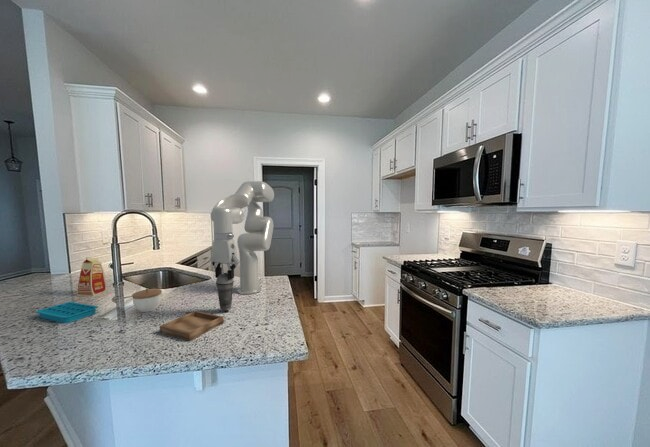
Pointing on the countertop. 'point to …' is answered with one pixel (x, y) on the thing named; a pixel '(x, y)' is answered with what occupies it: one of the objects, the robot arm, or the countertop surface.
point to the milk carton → (91, 278)
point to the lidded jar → (147, 299)
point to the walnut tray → (191, 325)
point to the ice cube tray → (67, 312)
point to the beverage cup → (224, 290)
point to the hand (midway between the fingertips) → (224, 277)
